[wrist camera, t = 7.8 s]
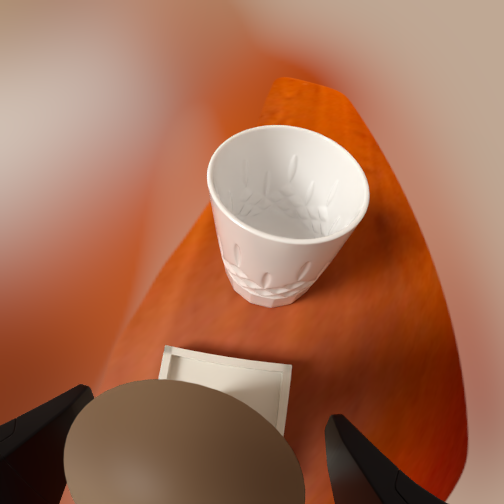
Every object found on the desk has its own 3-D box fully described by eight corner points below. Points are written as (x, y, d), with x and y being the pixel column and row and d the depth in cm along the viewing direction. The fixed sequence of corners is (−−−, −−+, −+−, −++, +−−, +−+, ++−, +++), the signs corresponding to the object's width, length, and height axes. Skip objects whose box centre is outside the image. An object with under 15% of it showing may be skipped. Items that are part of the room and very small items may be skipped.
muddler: (261, 452, 14) (322, 557, 3) (187, 461, 13) (100, 564, 2) (246, 385, 16) (276, 360, 5) (174, 395, 15) (48, 380, 4)
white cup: (222, 221, 23) (216, 121, 15) (315, 226, 24) (350, 133, 15) (214, 314, 19) (196, 239, 11) (323, 316, 20) (386, 247, 11)
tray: (270, 487, 13) (273, 496, 12) (152, 467, 14) (144, 473, 12) (287, 367, 18) (292, 364, 16) (171, 349, 18) (165, 345, 16)
